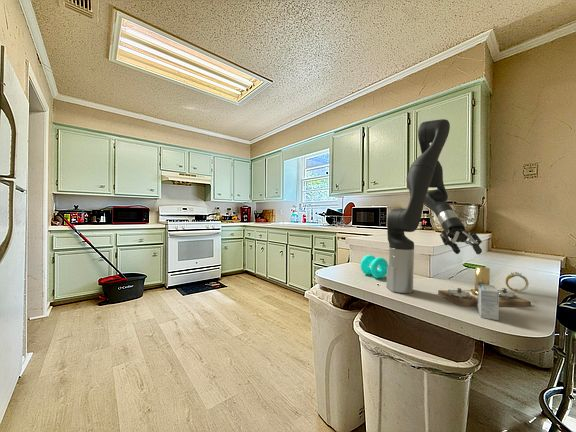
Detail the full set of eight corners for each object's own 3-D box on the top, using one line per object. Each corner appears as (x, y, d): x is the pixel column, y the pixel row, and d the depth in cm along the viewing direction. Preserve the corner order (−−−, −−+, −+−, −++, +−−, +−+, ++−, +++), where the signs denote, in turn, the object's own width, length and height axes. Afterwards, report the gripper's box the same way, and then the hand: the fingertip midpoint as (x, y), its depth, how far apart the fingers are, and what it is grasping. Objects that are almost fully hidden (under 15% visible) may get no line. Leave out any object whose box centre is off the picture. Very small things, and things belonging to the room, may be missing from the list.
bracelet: (505, 291, 102) (506, 271, 102) (504, 289, 105) (505, 270, 104) (529, 294, 98) (529, 274, 98) (527, 292, 101) (527, 272, 101)
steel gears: (456, 298, 88) (456, 291, 88) (443, 292, 95) (443, 285, 95) (522, 298, 89) (522, 291, 89) (505, 292, 95) (505, 285, 95)
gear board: (460, 306, 85) (460, 300, 85) (438, 294, 97) (438, 289, 97) (530, 305, 86) (531, 300, 86) (500, 294, 98) (500, 289, 98)
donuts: (374, 273, 129) (374, 253, 129) (389, 277, 120) (389, 257, 120) (359, 274, 125) (359, 255, 125) (373, 280, 116) (373, 258, 116)
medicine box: (498, 321, 74) (499, 292, 74) (479, 317, 76) (480, 289, 76) (494, 312, 81) (495, 285, 80) (477, 309, 83) (477, 283, 83)
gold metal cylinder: (479, 297, 89) (480, 269, 88) (466, 292, 95) (467, 265, 94) (497, 297, 89) (498, 269, 88) (483, 292, 95) (484, 265, 95)
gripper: (438, 216, 106) (456, 247, 95) (471, 216, 107) (492, 247, 95) (430, 227, 112) (446, 258, 100) (461, 228, 112) (481, 258, 101)
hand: (469, 253), depth 98 cm, fingers open, 8 cm apart
